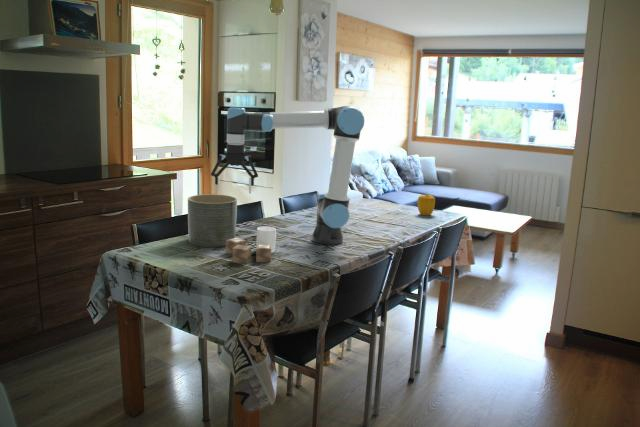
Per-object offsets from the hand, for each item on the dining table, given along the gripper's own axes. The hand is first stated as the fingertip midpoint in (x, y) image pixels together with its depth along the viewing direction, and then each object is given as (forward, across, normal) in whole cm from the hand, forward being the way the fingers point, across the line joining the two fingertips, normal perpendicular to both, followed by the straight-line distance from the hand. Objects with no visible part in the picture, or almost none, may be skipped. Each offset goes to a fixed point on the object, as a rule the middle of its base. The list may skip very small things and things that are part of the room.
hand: (234, 192), depth 241 cm
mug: (+25, -16, +4) cm, 30 cm away
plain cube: (+25, -4, +20) cm, 32 cm away
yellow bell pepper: (+25, -118, -78) cm, 143 cm away
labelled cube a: (+25, -1, +8) cm, 27 cm away
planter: (+25, +10, -10) cm, 29 cm away
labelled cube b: (+25, -13, +19) cm, 34 cm away
